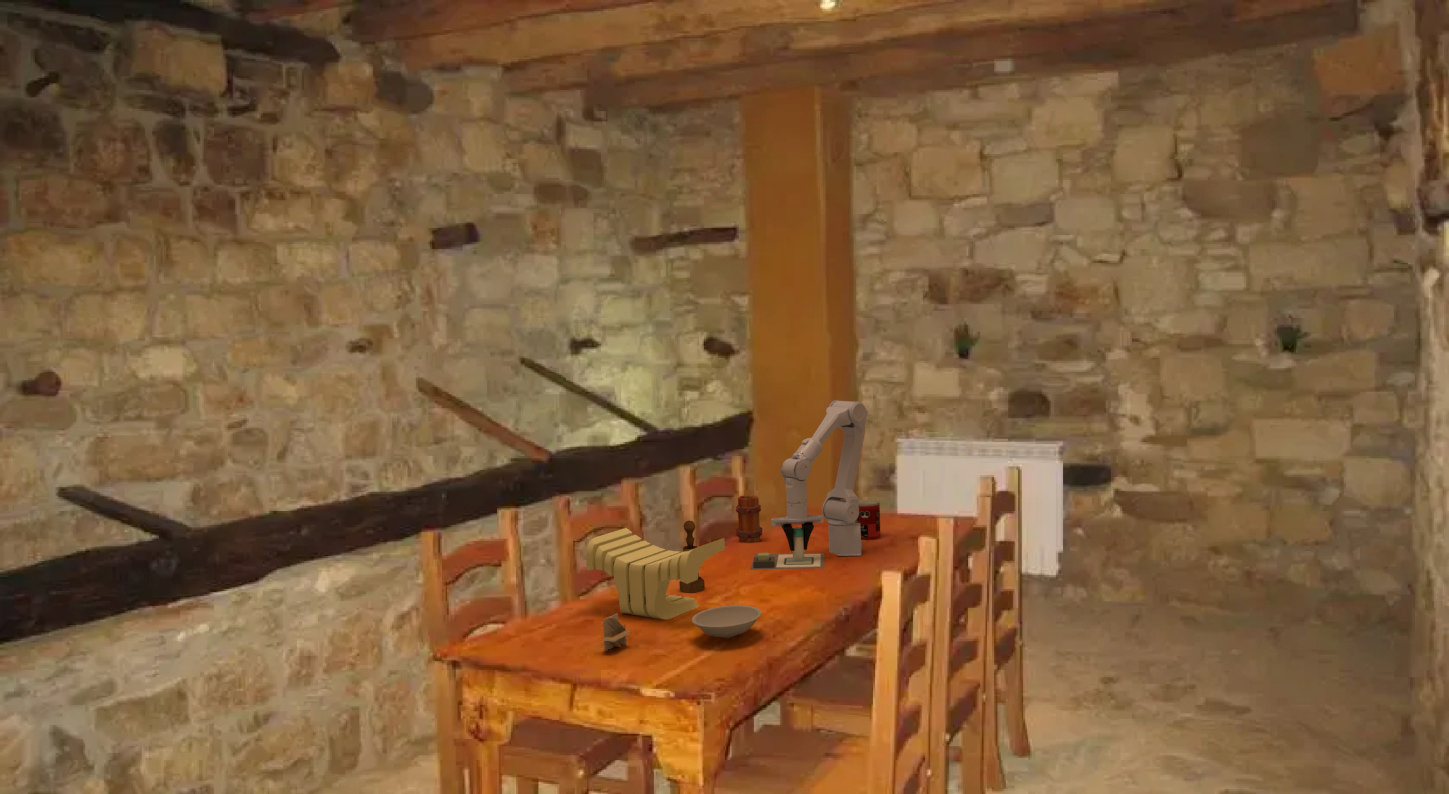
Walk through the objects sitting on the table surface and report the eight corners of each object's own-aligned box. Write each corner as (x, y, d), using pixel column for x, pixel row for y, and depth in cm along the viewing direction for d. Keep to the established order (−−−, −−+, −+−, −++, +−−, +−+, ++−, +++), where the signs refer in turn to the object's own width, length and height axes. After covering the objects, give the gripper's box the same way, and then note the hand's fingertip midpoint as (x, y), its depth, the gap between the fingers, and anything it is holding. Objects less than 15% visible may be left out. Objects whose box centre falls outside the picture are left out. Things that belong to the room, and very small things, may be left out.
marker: (802, 555, 321) (801, 527, 320) (806, 557, 318) (805, 529, 317) (791, 556, 320) (790, 528, 320) (794, 558, 317) (793, 530, 316)
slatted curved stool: (589, 612, 280) (585, 540, 278) (629, 596, 293) (626, 527, 291) (688, 628, 263) (685, 551, 261) (727, 610, 276) (724, 537, 274)
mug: (763, 545, 345) (761, 496, 344) (736, 546, 345) (734, 497, 344) (762, 535, 360) (760, 487, 358) (736, 536, 360) (734, 488, 359)
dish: (724, 623, 265) (723, 602, 265) (776, 631, 257) (775, 609, 257) (678, 644, 251) (676, 621, 251) (731, 653, 243) (730, 630, 242)
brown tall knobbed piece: (701, 593, 293) (698, 523, 292) (677, 592, 294) (673, 523, 293) (707, 586, 300) (704, 518, 298) (683, 586, 301) (679, 518, 299)
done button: (769, 560, 317) (769, 552, 317) (769, 562, 314) (768, 555, 314) (758, 560, 318) (758, 553, 317) (758, 562, 315) (757, 555, 314)
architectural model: (632, 647, 251) (630, 614, 251) (614, 657, 245) (613, 623, 245) (619, 645, 253) (617, 612, 252) (601, 655, 247) (599, 621, 246)
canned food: (849, 536, 352) (848, 501, 351) (871, 533, 355) (870, 498, 354) (862, 541, 345) (861, 505, 344) (885, 538, 348) (884, 502, 347)
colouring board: (824, 555, 328) (824, 546, 328) (824, 570, 311) (823, 561, 310) (754, 557, 330) (754, 548, 330) (750, 572, 313) (750, 562, 312)
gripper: (818, 497, 323) (820, 544, 324) (768, 501, 320) (770, 548, 322) (824, 501, 316) (826, 550, 317) (773, 505, 313) (775, 554, 315)
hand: (798, 549), depth 319 cm, fingers closed on marker, 3 cm apart
